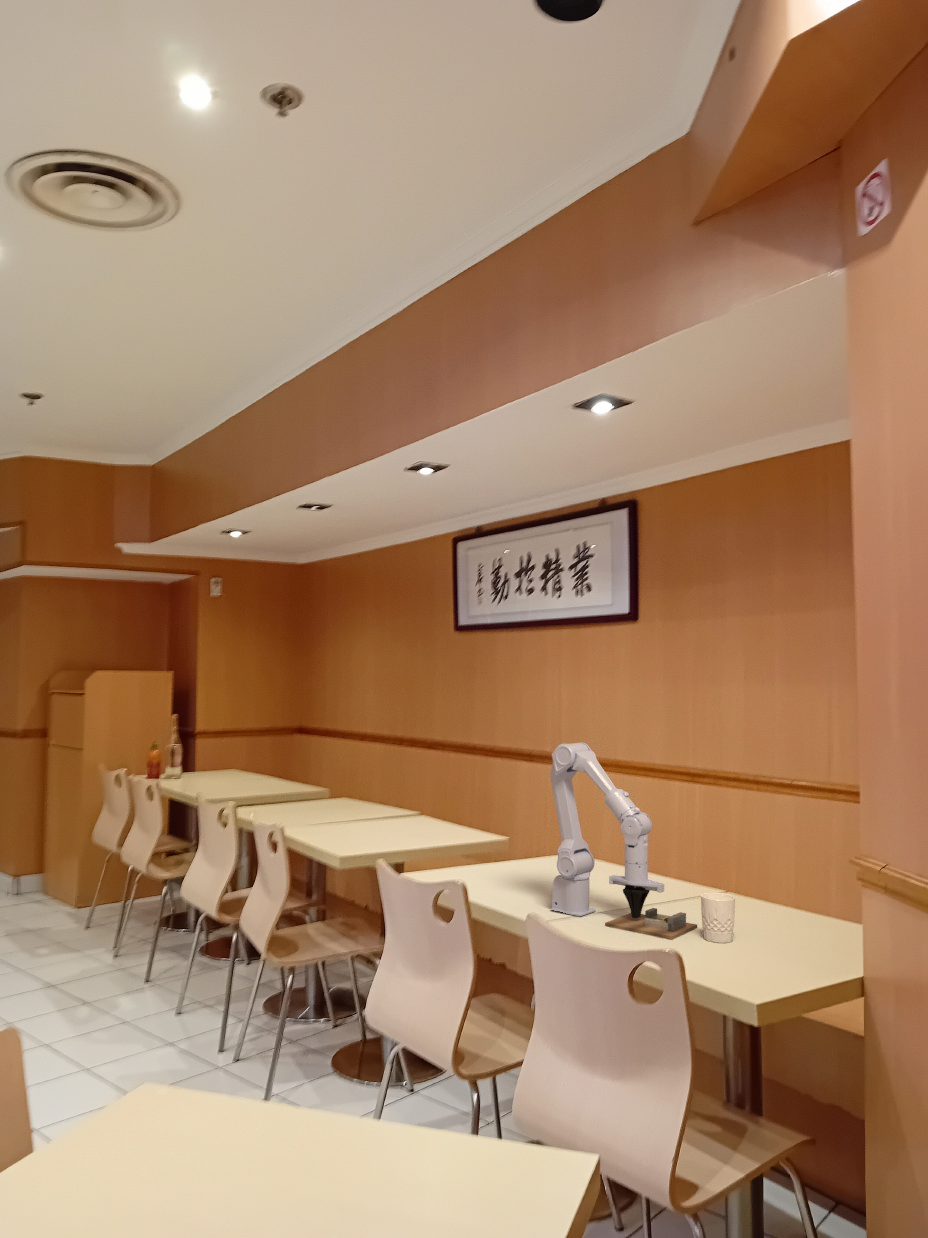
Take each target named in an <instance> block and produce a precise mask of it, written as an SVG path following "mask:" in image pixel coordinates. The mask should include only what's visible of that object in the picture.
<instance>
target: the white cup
mask: <svg viewBox="0 0 928 1238" xmlns="http://www.w3.org/2000/svg"><path fill="white" fill-rule="evenodd" d="M700 905H701V906H700V909H701V922H702V924H701V926H702V928H703V929H702V931H703V935H702V936H703V939H704V940H706V941H709V942H712V943H717V944H726V943H731V942H733V941H734V928H735V912H736V911H735V910H736V909H735V908H736V897H735V896H734V895H731V894H729V893H722V892H705V893H701V894H700Z"/></svg>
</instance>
